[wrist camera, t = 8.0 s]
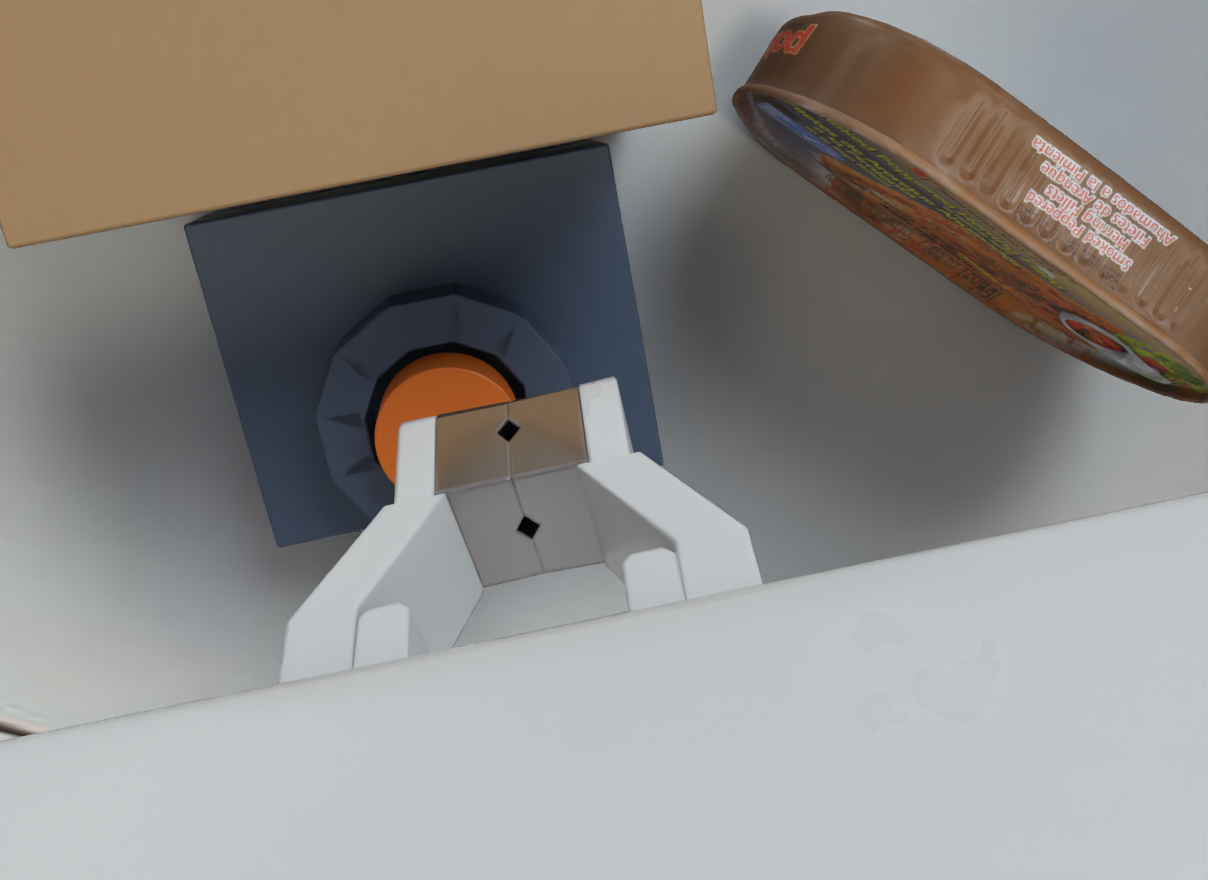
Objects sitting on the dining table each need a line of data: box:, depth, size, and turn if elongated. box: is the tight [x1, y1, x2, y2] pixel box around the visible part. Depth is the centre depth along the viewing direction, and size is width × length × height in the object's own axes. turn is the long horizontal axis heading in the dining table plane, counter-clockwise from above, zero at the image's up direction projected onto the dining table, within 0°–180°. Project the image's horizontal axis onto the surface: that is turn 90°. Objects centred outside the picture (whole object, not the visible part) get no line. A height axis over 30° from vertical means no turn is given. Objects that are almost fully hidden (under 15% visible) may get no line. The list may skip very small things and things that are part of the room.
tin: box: [732, 11, 1208, 403], centre depth 29 cm, size 15×3×8 cm, turn 57°
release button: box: [374, 352, 516, 485], centre depth 28 cm, size 4×4×2 cm
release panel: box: [184, 140, 663, 547], centre depth 30 cm, size 9×11×4 cm
